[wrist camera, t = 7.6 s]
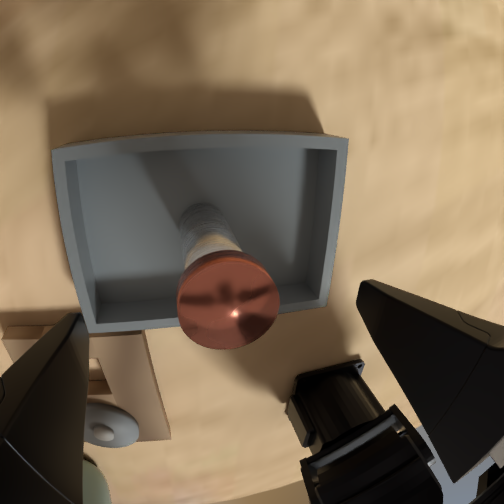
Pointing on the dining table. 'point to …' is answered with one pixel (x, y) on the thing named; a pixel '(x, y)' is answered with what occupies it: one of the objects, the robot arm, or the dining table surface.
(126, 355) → the block
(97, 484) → the cup
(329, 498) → the robot arm
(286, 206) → the tray
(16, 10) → the dining table surface
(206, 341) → the lock pin
